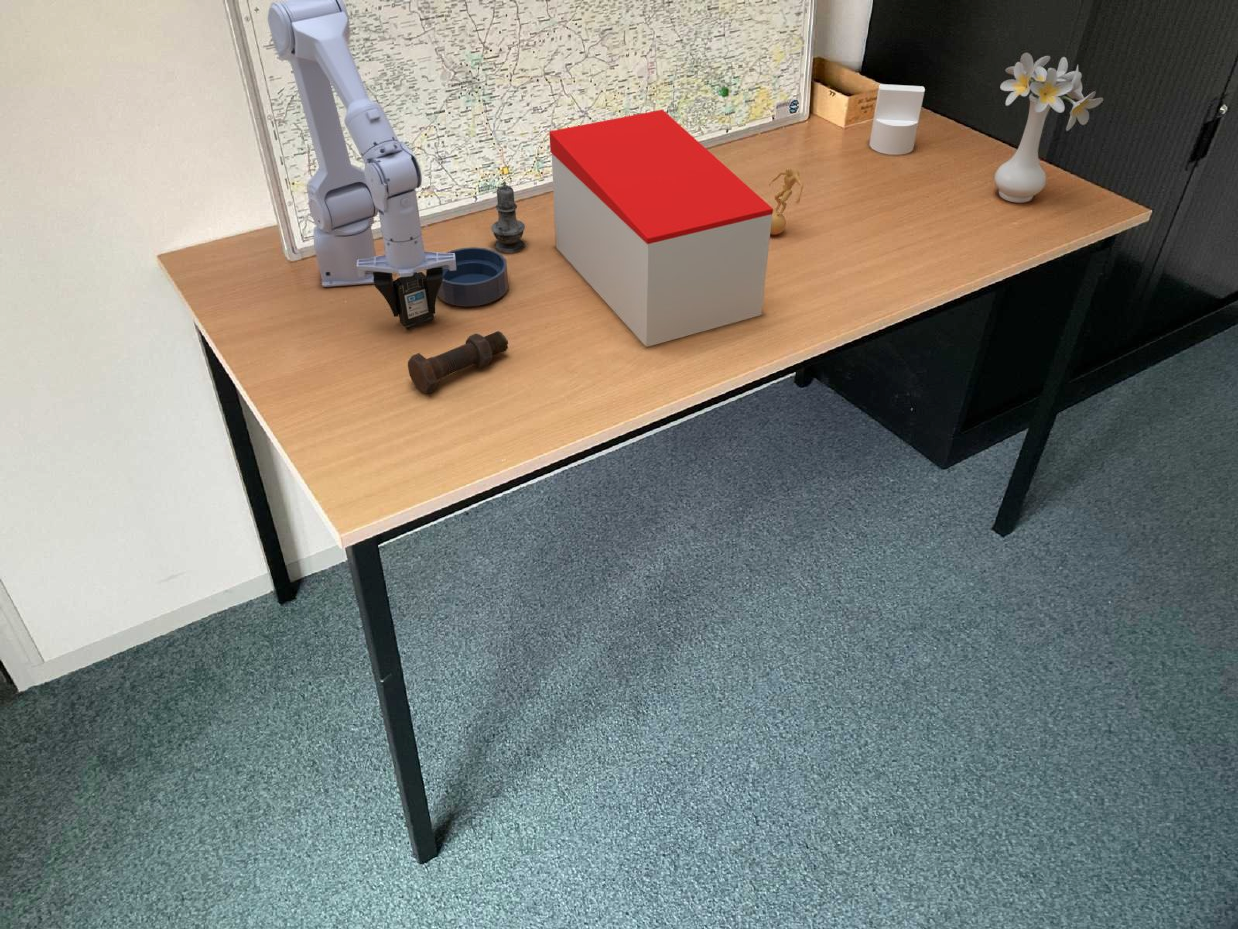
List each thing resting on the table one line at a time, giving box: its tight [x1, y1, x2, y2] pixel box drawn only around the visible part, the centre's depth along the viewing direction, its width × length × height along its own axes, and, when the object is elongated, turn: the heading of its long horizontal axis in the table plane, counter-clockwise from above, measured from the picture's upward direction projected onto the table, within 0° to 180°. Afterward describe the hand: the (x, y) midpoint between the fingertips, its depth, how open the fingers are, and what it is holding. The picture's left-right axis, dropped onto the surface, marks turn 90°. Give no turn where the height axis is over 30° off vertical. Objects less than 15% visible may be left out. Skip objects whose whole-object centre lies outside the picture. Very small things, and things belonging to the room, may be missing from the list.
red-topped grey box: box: [548, 109, 774, 348], centre depth 161 cm, size 21×35×21 cm, turn 26°
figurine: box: [768, 167, 804, 236], centre depth 176 cm, size 8×6×12 cm
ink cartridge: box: [393, 271, 435, 331], centre depth 155 cm, size 5×2×8 cm, turn 123°
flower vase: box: [993, 52, 1104, 204], centre depth 182 cm, size 13×18×25 cm
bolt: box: [407, 330, 509, 395], centre depth 147 cm, size 6×5×15 cm
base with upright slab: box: [868, 83, 926, 156], centre depth 205 cm, size 9×9×12 cm
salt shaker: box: [490, 181, 526, 254], centre depth 173 cm, size 6×6×12 cm
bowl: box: [437, 246, 509, 307], centre depth 164 cm, size 12×12×4 cm
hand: (414, 311), depth 156 cm, fingers closed on ink cartridge, 5 cm apart
